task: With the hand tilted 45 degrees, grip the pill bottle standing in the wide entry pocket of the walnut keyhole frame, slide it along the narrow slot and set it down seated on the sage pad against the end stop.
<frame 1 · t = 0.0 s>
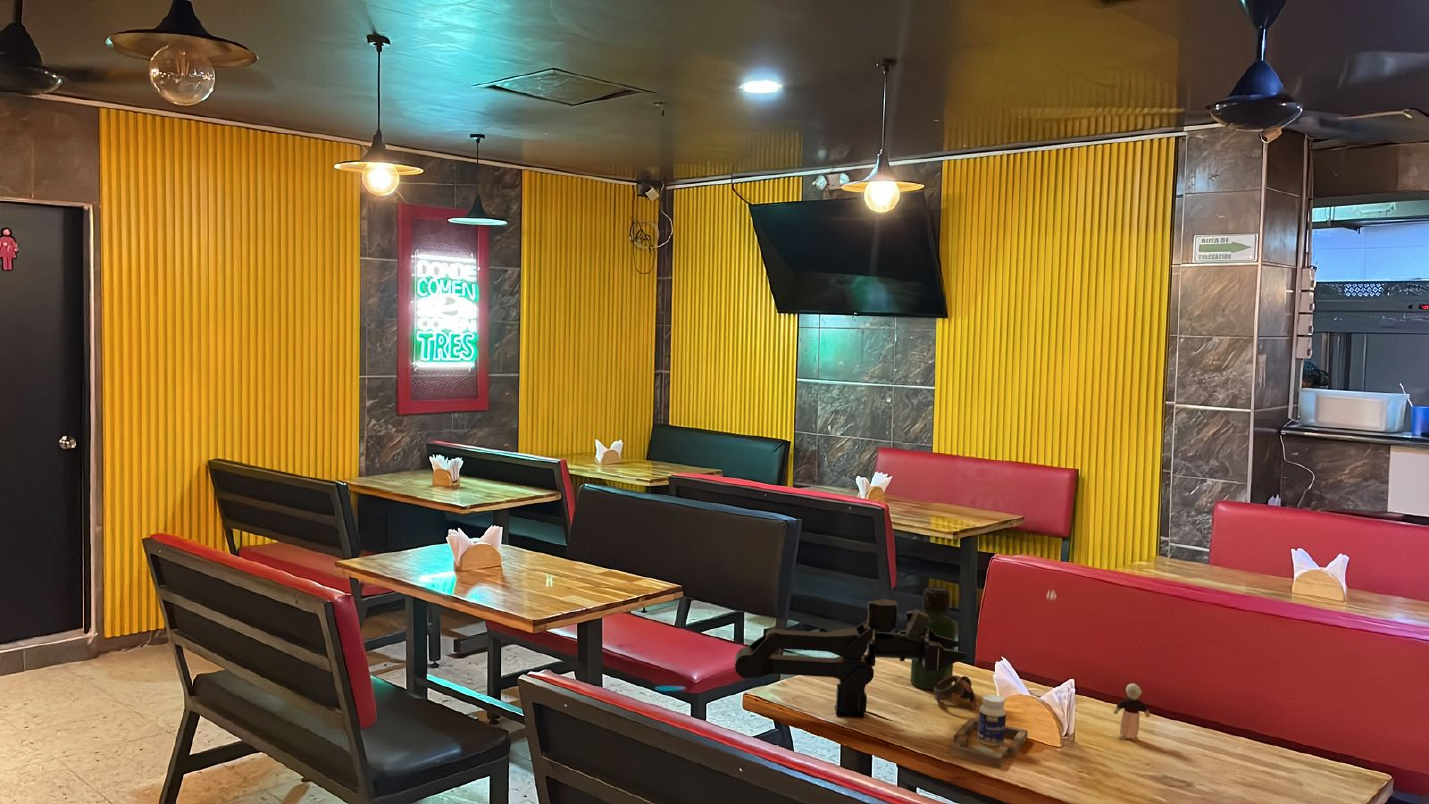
hand: (962, 649, 247), 17 cm above the table, tool horizontal, fingers open, 9 cm apart
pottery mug: (957, 706, 258), on the table
pill bottle: (990, 742, 235), resting in keyhole frame
keyhole frame: (985, 747, 231), on the table
grandmother figurine: (1130, 739, 241), on the table
dark green bottle: (930, 685, 272), on the table
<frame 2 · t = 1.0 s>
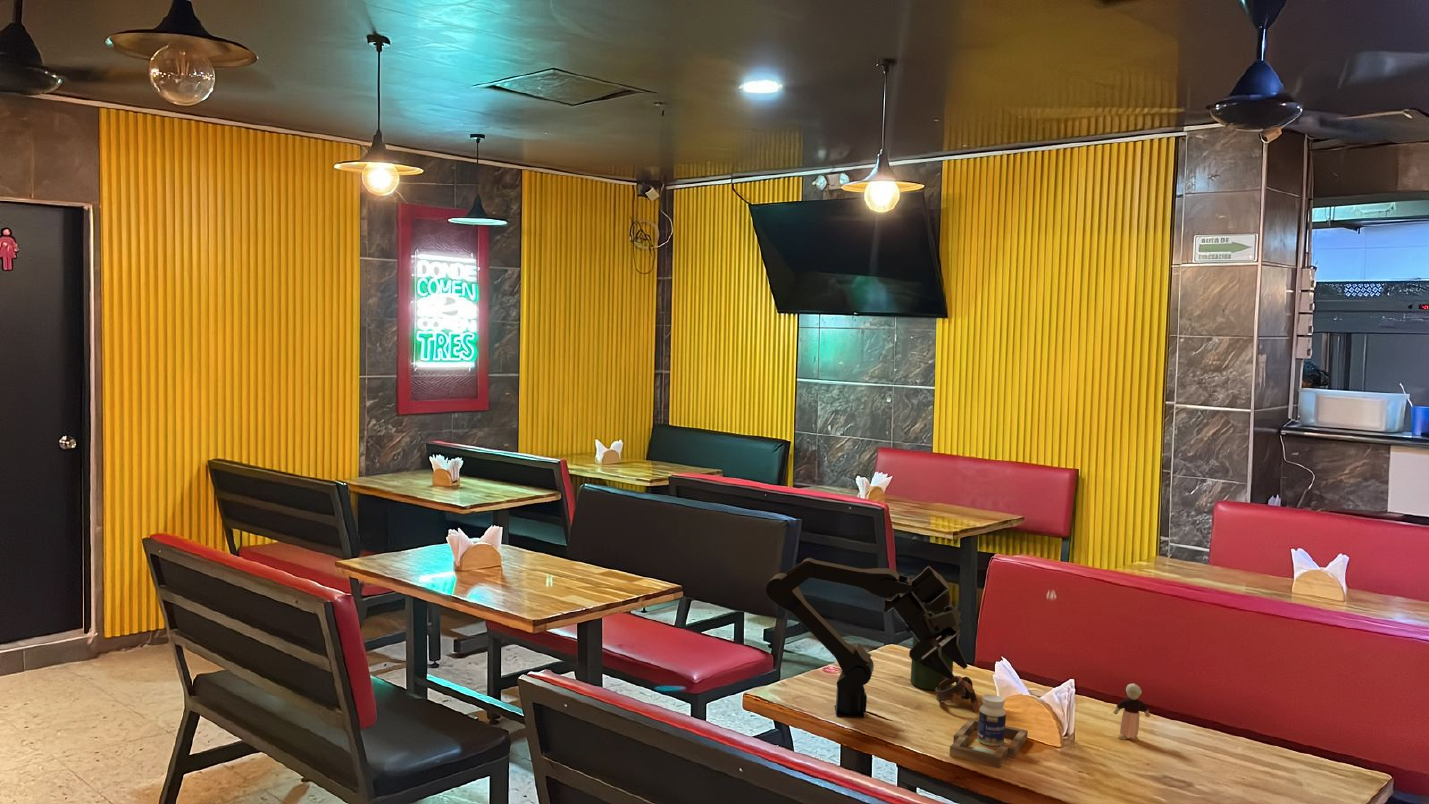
hand: (959, 673, 238), 14 cm above the table, tool tilted 45°, fingers open, 9 cm apart
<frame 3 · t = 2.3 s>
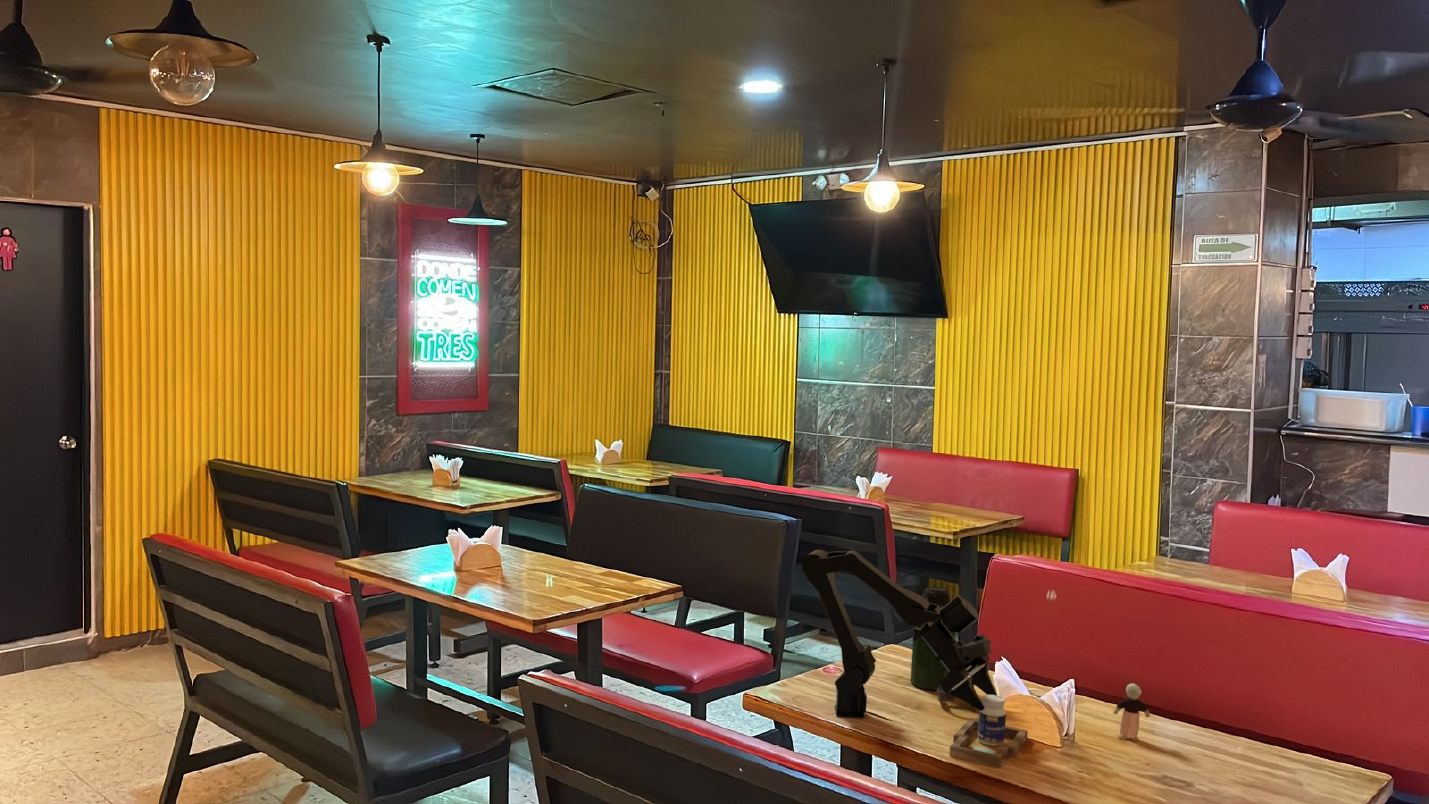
hand: (989, 703, 235), 8 cm above the table, tool tilted 45°, fingers open, 9 cm apart
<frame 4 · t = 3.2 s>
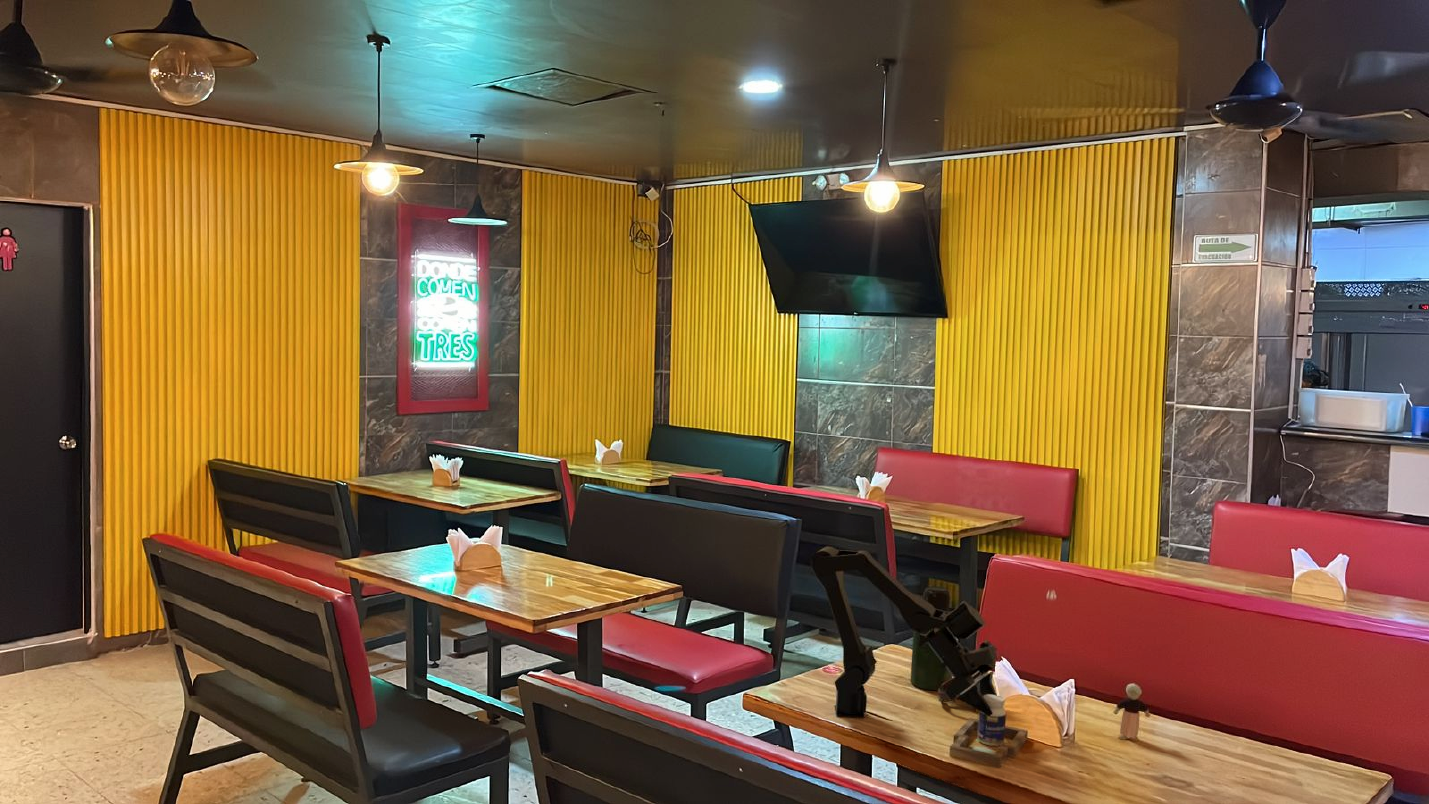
hand: (995, 710, 234), 7 cm above the table, tool tilted 45°, fingers closed on pill bottle, 6 cm apart
pill bottle: (990, 742, 235), resting in keyhole frame, touching gripper
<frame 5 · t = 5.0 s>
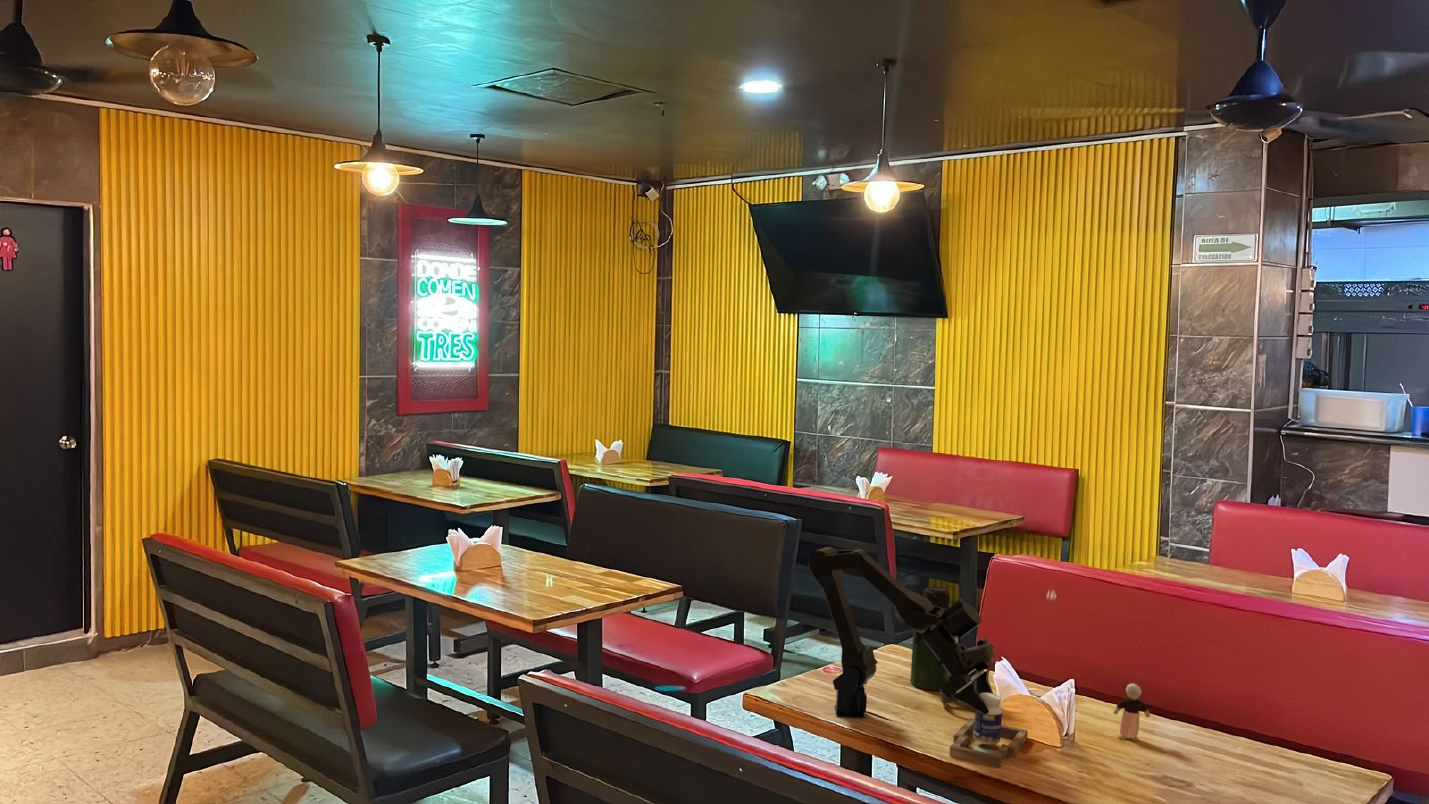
hand: (991, 709, 232), 8 cm above the table, tool tilted 45°, fingers closed on pill bottle, 6 cm apart
pill bottle: (986, 741, 232), point 1 cm above the table, touching gripper
when the fingers open (7 cm above the table, at t = 7.1 s): pill bottle stays where it is, resting on keyhole frame.
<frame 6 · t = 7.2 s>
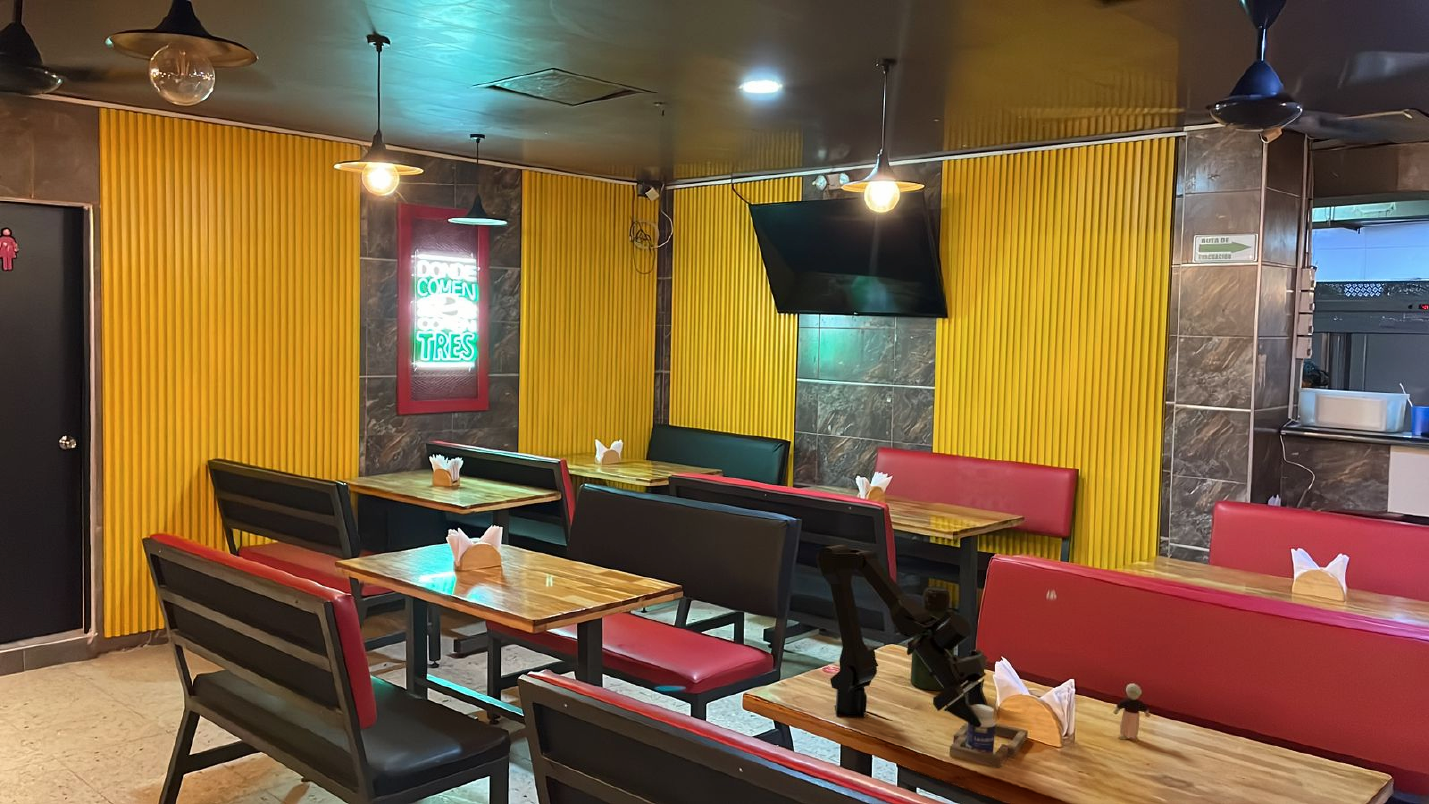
hand: (985, 721, 226), 7 cm above the table, tool tilted 45°, fingers open, 7 cm apart
pill bottle: (979, 754, 227), resting on keyhole frame
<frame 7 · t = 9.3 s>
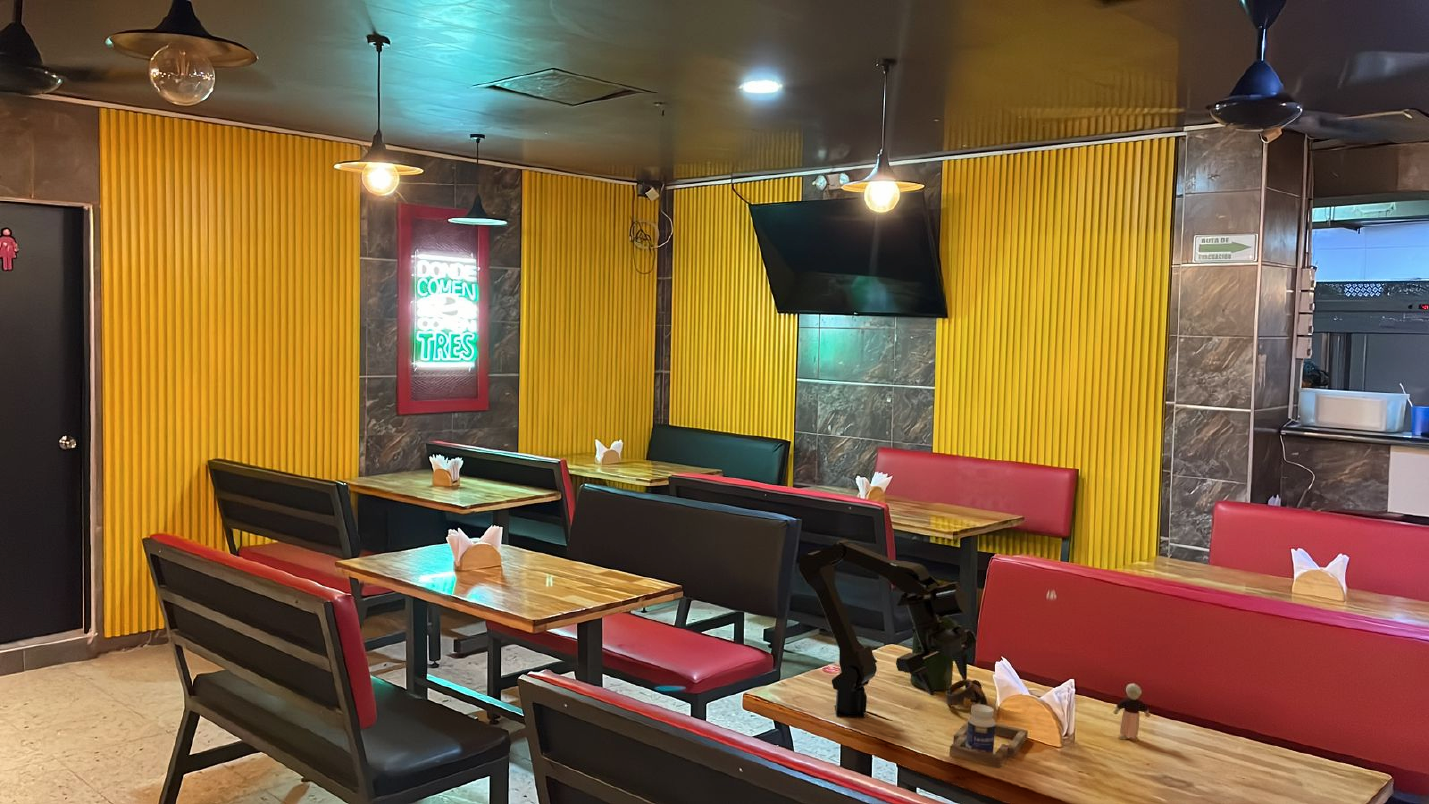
hand: (948, 687, 237), 11 cm above the table, tool tilted 20°, fingers open, 9 cm apart
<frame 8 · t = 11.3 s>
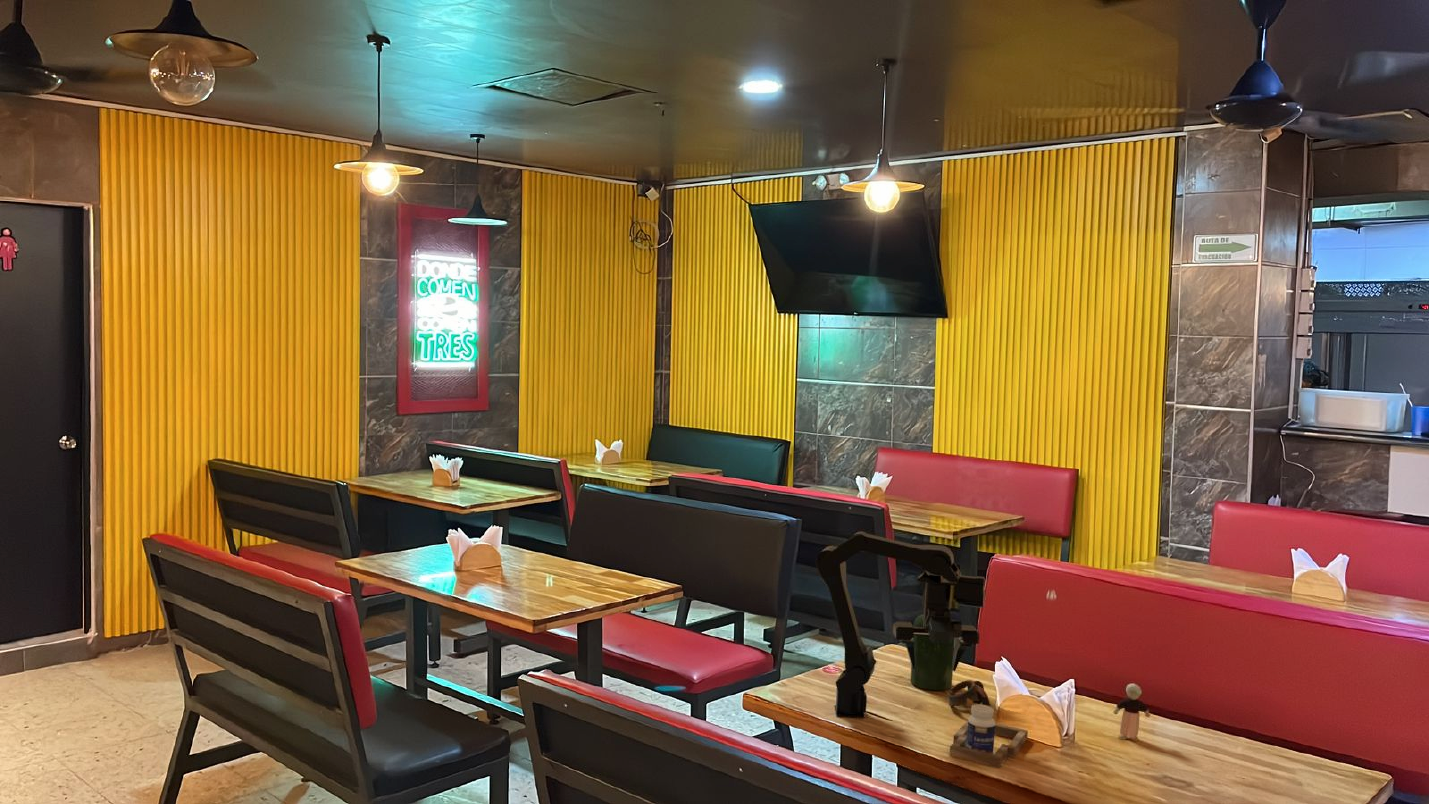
hand: (933, 669, 242), 13 cm above the table, tool pointing down, fingers open, 9 cm apart
at the end: pill bottle inside the target area (0.2 cm from its centre), resting on keyhole frame; pill bottle tilted 0°; the gripper is holding nothing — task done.
